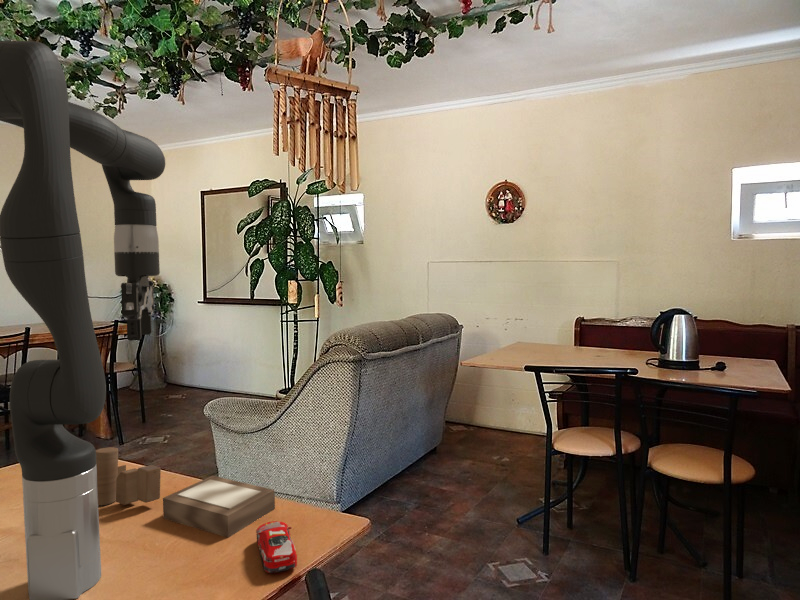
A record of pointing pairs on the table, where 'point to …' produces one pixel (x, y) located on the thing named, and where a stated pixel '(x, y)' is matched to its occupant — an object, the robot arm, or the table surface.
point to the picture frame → (219, 505)
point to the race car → (276, 547)
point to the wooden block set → (124, 480)
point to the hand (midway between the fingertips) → (140, 337)
